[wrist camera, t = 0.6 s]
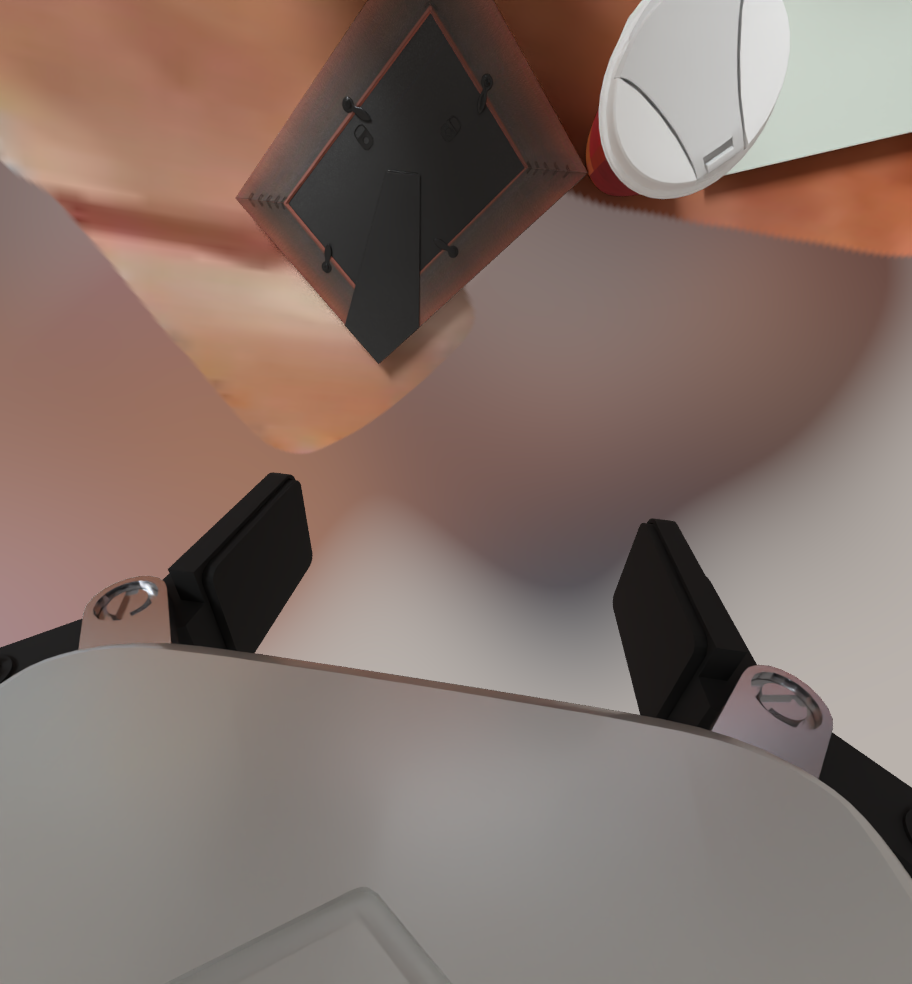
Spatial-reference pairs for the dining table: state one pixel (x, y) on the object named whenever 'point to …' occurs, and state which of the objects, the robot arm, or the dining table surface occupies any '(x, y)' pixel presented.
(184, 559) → the robot arm
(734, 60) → the paper cup
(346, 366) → the dining table surface
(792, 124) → the wall board
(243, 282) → the dining table surface
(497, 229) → the picture frame
